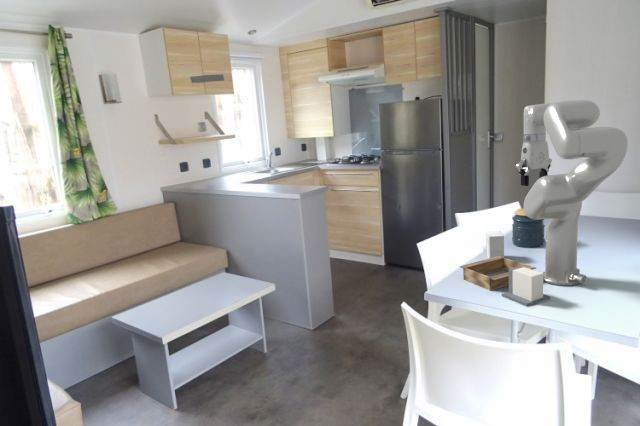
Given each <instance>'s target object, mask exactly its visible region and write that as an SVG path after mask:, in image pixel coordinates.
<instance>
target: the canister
mask: <svg viewBox="0 0 640 426" xmlns="http://www.w3.org/2000/svg"><path fill="white" fill-rule="evenodd" d="M511 219H512V221H513V223H512V224H511V227H512V238H511V241H512V245H514V246H517V247H520V248H539V247H542V246H544V245H545V243H546V238H545V227H546V226H545V223H544V221H545V219H538V220H535V219H531V218H529V217H528V216H527V215H526V214H525V212H524V207H523V208H519V209H517V210H515V211H514V215H513V216H512V217H511Z"/></svg>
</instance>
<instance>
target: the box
mask: <svg viewBox="0 0 640 426" xmlns="http://www.w3.org/2000/svg"><path fill="white" fill-rule="evenodd" d="M508 272H509V285H508V292H509V293H512V294H514V295H517V296H520V297H522V298H525V299H527V300H530V301H534V300H537V299H540V298H543V294H544V281H543V272H541V271H537V270H535V269H533V270H531V269H528V268H525V267H522V266H518V267H514V268H511V269H509V271H508Z"/></svg>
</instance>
